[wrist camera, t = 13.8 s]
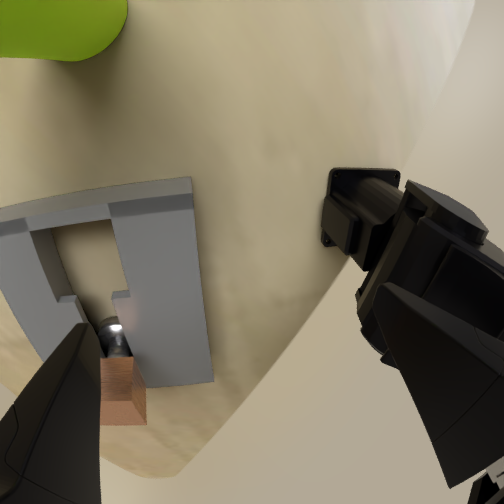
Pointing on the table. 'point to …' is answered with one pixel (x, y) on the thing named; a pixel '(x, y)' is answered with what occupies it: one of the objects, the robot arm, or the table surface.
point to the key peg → (120, 379)
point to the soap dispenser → (59, 28)
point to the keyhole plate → (135, 269)
